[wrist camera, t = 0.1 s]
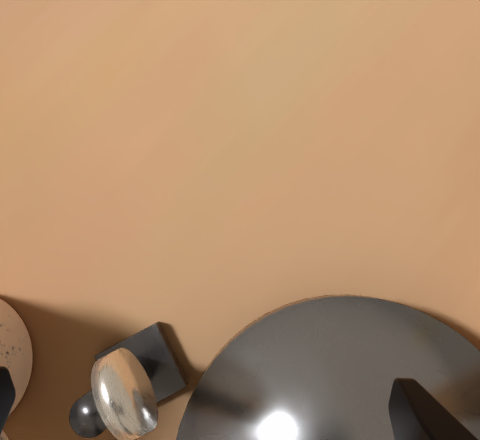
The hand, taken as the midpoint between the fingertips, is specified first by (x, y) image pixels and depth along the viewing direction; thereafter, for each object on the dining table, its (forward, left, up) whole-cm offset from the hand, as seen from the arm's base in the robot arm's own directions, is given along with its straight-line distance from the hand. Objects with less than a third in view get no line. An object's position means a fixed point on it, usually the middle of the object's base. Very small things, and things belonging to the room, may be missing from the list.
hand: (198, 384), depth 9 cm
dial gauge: (0, +6, -15) cm, 16 cm away
